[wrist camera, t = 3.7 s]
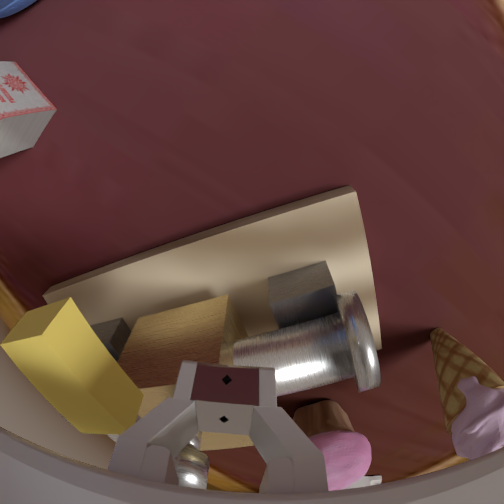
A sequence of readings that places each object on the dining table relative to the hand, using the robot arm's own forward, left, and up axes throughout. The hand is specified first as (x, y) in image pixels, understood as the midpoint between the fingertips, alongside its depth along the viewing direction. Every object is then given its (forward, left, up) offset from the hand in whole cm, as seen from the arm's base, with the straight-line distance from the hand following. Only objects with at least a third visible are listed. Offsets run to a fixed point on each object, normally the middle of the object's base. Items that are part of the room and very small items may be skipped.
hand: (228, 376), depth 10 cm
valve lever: (-2, +5, 0) cm, 6 cm away
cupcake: (-22, -1, -13) cm, 26 cm away
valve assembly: (-6, +5, -13) cm, 15 cm away
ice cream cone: (-15, -14, -13) cm, 24 cm away
